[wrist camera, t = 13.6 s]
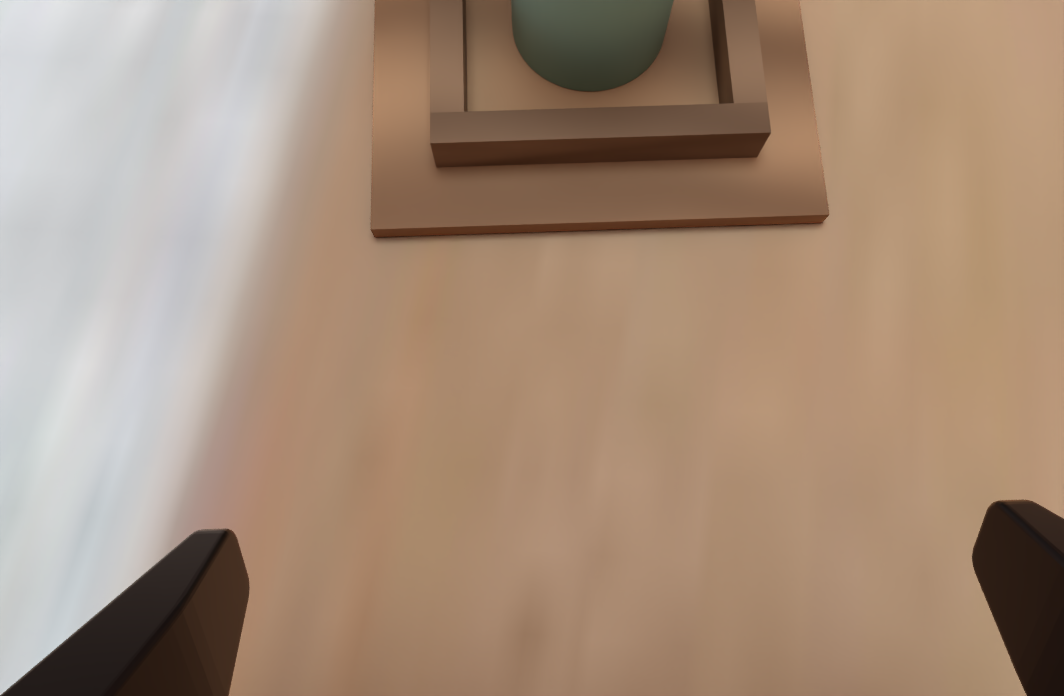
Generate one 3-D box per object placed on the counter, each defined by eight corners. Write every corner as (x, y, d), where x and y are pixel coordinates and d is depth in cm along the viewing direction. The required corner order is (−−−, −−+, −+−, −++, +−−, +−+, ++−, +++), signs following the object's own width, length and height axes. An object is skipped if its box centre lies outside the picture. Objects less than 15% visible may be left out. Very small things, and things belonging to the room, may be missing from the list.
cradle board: (822, 222, 24) (848, 192, 22) (374, 236, 24) (360, 208, 22) (772, -141, 28) (791, -195, 26) (381, -129, 28) (368, -183, 26)
